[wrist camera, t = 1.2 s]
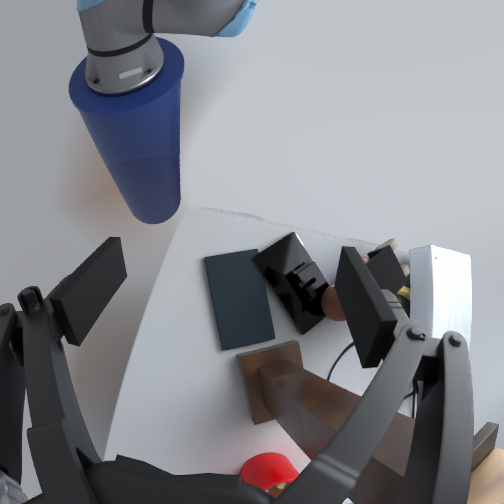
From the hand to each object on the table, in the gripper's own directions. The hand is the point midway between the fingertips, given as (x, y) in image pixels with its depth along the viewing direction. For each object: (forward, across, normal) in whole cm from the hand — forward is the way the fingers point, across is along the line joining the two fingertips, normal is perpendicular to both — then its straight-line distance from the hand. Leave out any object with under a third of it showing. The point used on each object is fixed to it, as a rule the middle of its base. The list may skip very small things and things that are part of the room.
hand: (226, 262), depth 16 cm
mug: (0, +3, -36) cm, 36 cm away
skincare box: (+20, +42, -20) cm, 51 cm away
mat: (+16, 0, -14) cm, 21 cm away
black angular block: (+18, +7, -13) cm, 24 cm away
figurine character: (+20, +16, -14) cm, 30 cm away
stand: (+10, +5, -23) cm, 26 cm away
